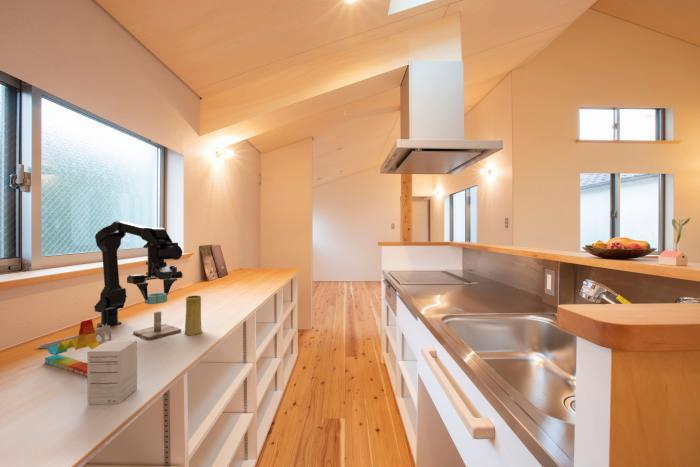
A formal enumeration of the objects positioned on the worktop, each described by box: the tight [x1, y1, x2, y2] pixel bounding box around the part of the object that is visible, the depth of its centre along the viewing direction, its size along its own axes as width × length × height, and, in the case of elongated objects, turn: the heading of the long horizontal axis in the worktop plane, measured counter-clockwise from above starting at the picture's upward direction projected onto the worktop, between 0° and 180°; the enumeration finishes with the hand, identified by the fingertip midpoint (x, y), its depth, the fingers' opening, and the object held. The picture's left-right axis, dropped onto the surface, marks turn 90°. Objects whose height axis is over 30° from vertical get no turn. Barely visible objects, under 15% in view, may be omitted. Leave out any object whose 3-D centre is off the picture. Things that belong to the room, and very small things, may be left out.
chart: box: [44, 319, 102, 378], centre depth 91 cm, size 30×3×15 cm, turn 67°
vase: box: [184, 294, 203, 336], centre depth 125 cm, size 6×6×14 cm
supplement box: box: [86, 339, 138, 406], centre depth 77 cm, size 7×7×13 cm
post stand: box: [132, 311, 182, 341], centre depth 124 cm, size 12×12×8 cm
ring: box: [144, 292, 168, 305], centre depth 127 cm, size 7×7×3 cm
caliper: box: [34, 323, 112, 350], centre depth 112 cm, size 20×1×6 cm, turn 120°
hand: (156, 298), depth 127 cm, fingers closed on ring, 7 cm apart
